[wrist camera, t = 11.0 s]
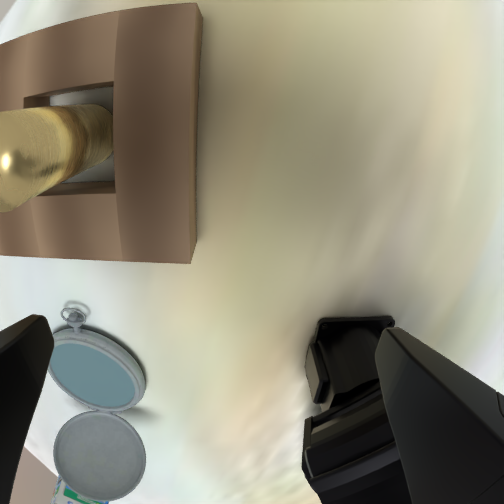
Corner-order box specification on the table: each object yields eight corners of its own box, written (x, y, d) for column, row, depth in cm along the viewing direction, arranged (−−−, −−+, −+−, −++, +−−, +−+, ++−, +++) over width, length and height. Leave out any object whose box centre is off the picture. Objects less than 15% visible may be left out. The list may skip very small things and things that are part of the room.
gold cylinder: (117, 100, 16) (30, 103, 8) (117, 164, 18) (38, 211, 10) (62, 108, 16) (-36, 122, 8) (64, 168, 18) (-26, 213, 9)
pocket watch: (46, 486, 18) (-39, 384, 12) (75, 407, 28) (28, 296, 22) (144, 512, 19) (85, 426, 13) (159, 421, 29) (133, 306, 22)
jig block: (202, 18, 14) (196, 2, 12) (196, 242, 20) (190, 263, 18) (9, 53, 13) (-17, 51, 11) (21, 238, 19) (-1, 255, 17)
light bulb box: (74, 436, 31) (53, 502, 21) (120, 457, 33) (106, 524, 23) (63, 457, 35) (46, 512, 25) (102, 475, 36) (89, 530, 27)
